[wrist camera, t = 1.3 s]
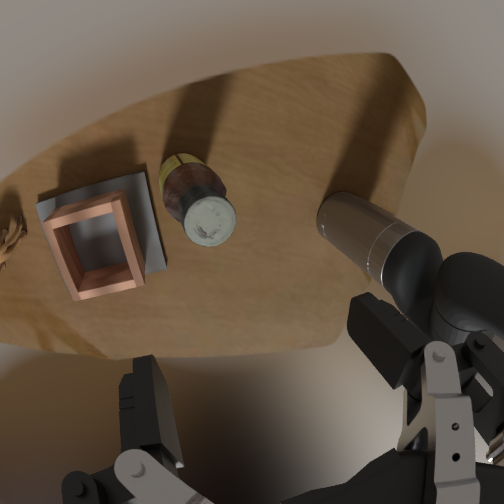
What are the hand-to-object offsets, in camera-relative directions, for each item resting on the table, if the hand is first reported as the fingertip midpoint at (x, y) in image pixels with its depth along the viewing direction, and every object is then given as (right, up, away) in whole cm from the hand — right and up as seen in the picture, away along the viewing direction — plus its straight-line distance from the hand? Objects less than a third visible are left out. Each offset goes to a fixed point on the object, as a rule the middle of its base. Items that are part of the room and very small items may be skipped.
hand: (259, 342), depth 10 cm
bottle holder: (-22, +6, +27) cm, 35 cm away
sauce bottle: (-10, +14, +27) cm, 32 cm away
